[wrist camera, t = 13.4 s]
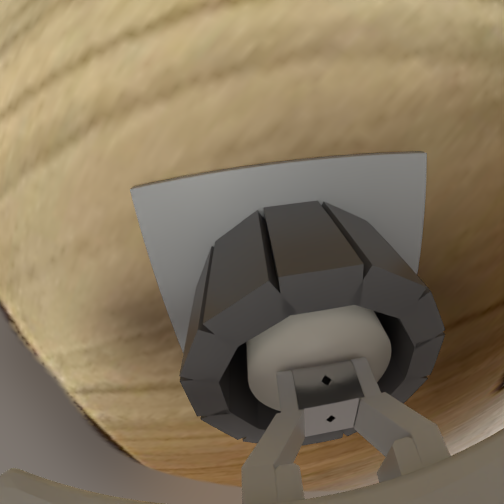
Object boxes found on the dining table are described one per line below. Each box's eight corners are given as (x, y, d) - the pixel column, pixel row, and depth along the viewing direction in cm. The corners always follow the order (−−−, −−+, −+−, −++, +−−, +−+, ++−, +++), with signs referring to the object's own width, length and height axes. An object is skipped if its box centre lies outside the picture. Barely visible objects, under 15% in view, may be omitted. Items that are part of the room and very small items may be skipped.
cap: (352, 237, 12) (398, 299, 8) (353, 327, 15) (383, 395, 11) (233, 260, 13) (231, 334, 9) (256, 347, 15) (261, 422, 11)
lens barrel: (421, 151, 11) (509, 189, 6) (397, 355, 17) (430, 425, 12) (133, 186, 11) (68, 246, 7) (200, 387, 17) (193, 466, 12)
